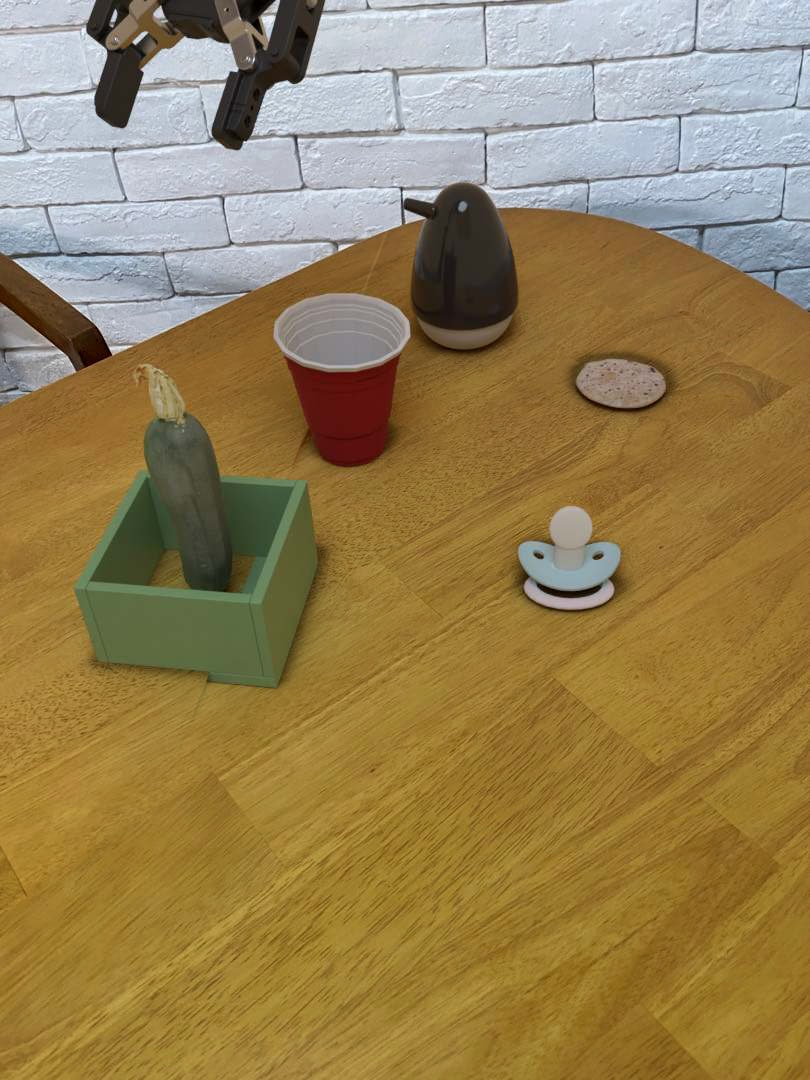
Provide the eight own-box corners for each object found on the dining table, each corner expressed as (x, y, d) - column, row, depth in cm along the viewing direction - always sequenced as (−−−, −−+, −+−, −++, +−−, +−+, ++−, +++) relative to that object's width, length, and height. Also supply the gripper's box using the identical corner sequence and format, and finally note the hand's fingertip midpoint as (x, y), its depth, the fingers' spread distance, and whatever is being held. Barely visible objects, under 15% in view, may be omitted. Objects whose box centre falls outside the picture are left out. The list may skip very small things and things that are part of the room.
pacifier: (621, 616, 80) (616, 557, 84) (628, 552, 75) (623, 494, 80) (517, 614, 80) (518, 556, 85) (518, 550, 76) (519, 492, 80)
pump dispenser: (405, 314, 113) (396, 166, 103) (508, 304, 113) (509, 156, 103) (416, 369, 105) (407, 215, 95) (526, 357, 106) (529, 203, 96)
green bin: (101, 671, 78) (72, 588, 73) (160, 551, 87) (139, 469, 82) (277, 688, 76) (261, 603, 71) (319, 563, 85) (307, 480, 80)
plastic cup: (372, 502, 91) (361, 375, 83) (265, 464, 95) (244, 340, 87) (440, 432, 97) (436, 308, 89) (337, 399, 102) (324, 279, 94)
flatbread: (682, 385, 101) (683, 375, 100) (632, 423, 97) (633, 413, 96) (607, 354, 105) (607, 345, 104) (556, 389, 101) (557, 380, 100)
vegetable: (255, 591, 82) (209, 354, 69) (224, 630, 79) (169, 391, 66) (203, 575, 83) (149, 341, 70) (171, 614, 81) (108, 377, 67)
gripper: (117, -185, 64) (30, 86, 65) (327, -177, 59) (230, 121, 59) (191, -102, 71) (112, 143, 72) (385, -87, 66) (298, 179, 66)
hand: (165, 133), depth 65 cm, fingers open, 8 cm apart
